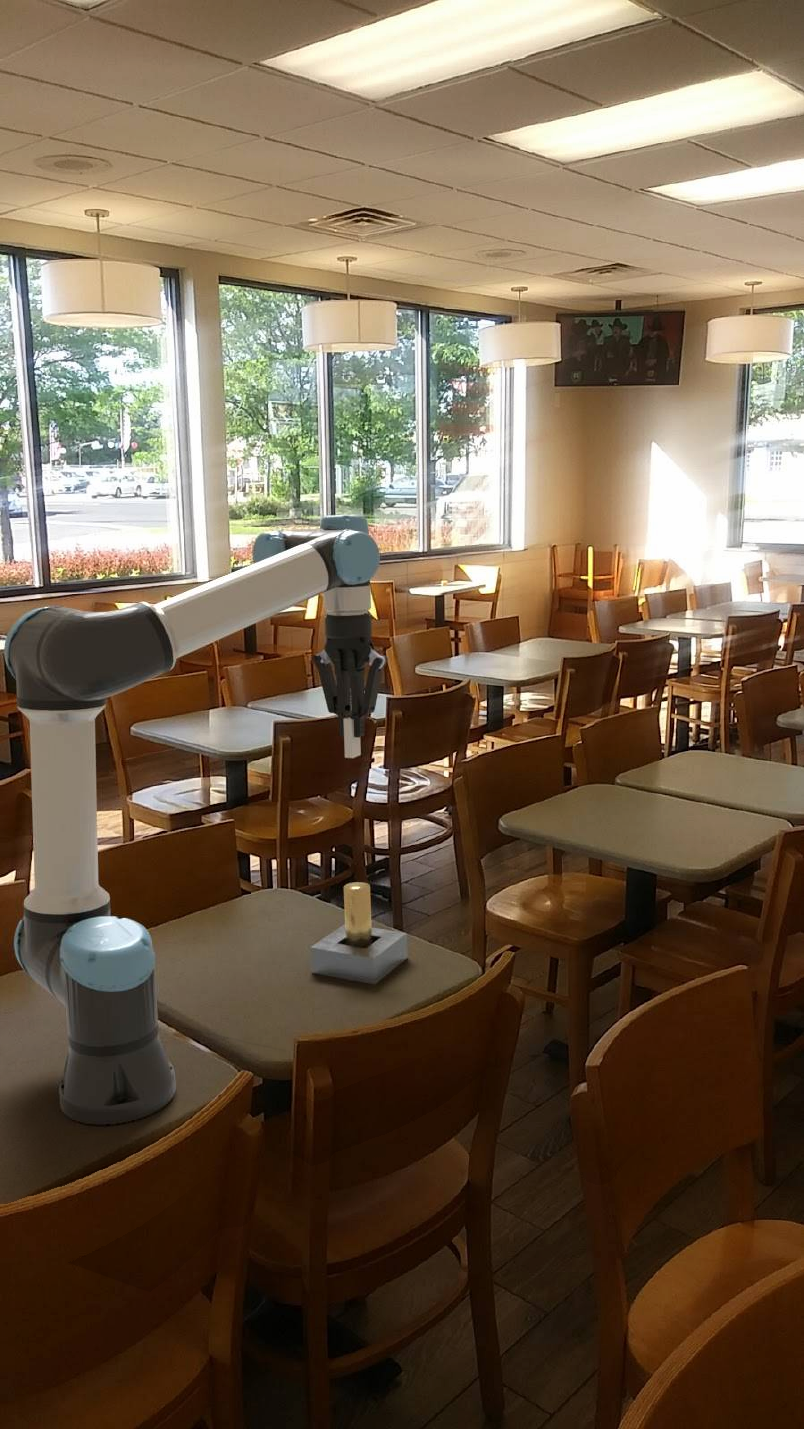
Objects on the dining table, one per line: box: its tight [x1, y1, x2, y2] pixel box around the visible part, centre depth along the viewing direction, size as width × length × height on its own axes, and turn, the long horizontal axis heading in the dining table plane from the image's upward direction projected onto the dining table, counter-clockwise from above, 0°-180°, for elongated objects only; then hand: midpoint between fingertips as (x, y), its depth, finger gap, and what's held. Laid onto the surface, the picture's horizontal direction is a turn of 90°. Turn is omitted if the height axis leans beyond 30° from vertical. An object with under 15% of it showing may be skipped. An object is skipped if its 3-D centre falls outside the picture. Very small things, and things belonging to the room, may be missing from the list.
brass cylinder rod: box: [343, 881, 373, 949], centre depth 193 cm, size 4×4×14 cm
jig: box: [310, 923, 408, 985], centre depth 194 cm, size 12×12×4 cm
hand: (352, 756), depth 188 cm, fingers closed
